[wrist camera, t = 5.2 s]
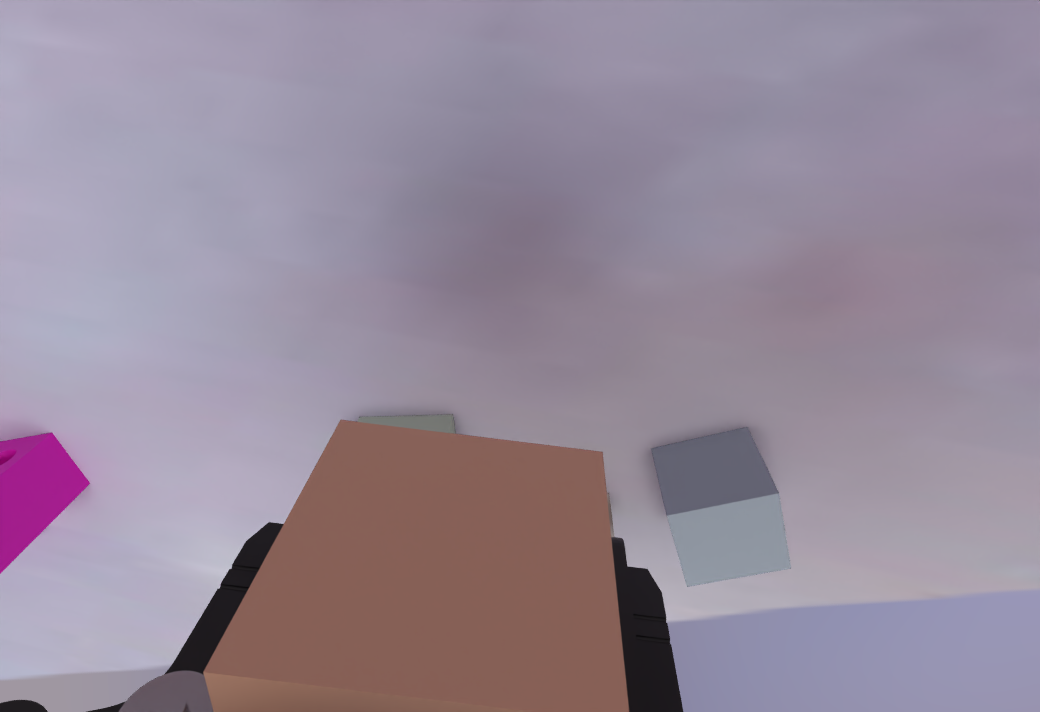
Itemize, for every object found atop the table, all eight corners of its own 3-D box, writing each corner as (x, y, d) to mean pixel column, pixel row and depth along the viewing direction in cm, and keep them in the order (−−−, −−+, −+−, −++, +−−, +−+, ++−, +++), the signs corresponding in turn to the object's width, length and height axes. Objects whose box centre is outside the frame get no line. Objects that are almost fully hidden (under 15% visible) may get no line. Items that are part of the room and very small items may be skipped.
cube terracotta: (602, 451, 11) (630, 724, 7) (564, 620, 14) (566, 898, 9) (340, 419, 11) (202, 672, 7) (349, 594, 14) (252, 861, 9)
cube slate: (746, 426, 31) (778, 493, 26) (759, 496, 33) (790, 568, 29) (650, 447, 32) (666, 515, 27) (669, 514, 34) (687, 586, 30)
